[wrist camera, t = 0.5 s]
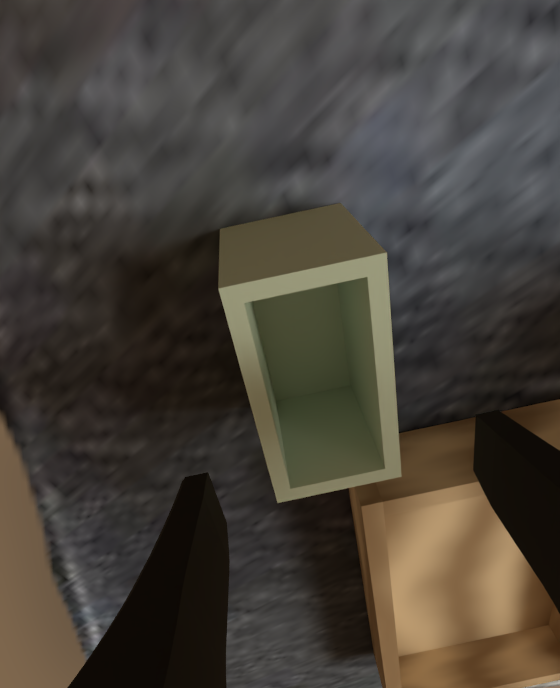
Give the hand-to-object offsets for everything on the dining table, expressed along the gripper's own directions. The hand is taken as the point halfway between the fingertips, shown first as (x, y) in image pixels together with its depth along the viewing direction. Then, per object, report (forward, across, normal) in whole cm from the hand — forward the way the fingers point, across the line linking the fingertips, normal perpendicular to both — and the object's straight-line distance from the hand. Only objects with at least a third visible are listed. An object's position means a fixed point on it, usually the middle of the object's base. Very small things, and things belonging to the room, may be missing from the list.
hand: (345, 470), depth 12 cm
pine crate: (+9, -8, +19) cm, 23 cm away
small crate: (+9, 0, 0) cm, 9 cm away
